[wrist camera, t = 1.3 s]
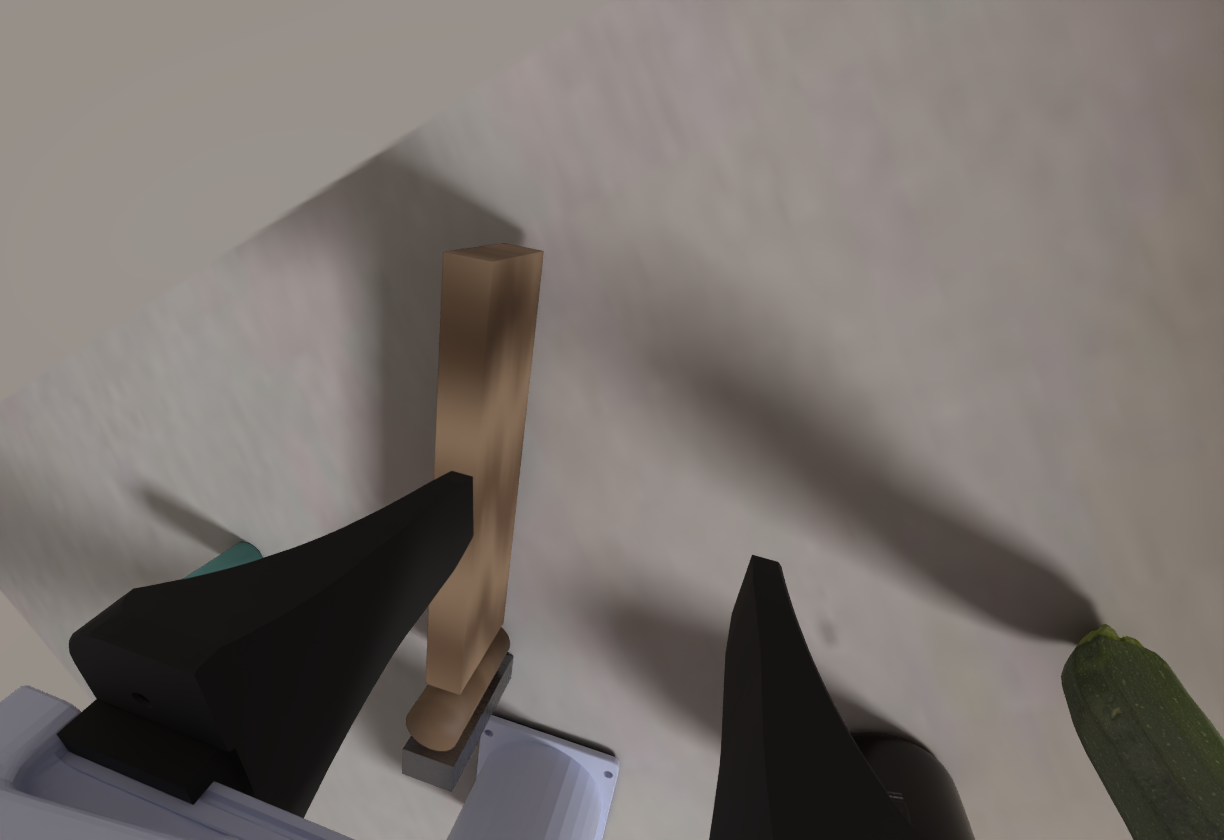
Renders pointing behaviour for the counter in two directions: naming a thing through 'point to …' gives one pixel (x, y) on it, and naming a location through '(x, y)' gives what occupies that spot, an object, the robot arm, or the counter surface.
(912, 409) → the counter surface
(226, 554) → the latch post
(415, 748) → the hinge post
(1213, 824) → the vegetable
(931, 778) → the supplement bottle
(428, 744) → the wooden plank
